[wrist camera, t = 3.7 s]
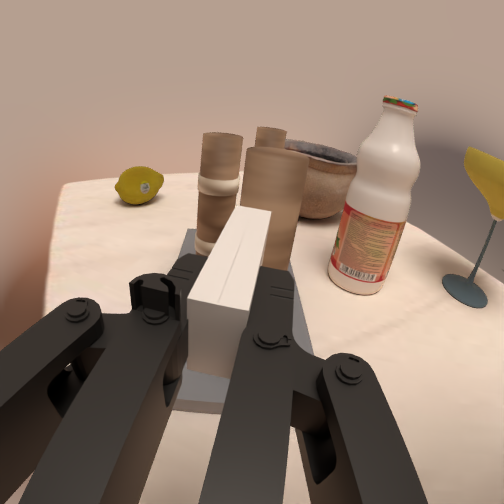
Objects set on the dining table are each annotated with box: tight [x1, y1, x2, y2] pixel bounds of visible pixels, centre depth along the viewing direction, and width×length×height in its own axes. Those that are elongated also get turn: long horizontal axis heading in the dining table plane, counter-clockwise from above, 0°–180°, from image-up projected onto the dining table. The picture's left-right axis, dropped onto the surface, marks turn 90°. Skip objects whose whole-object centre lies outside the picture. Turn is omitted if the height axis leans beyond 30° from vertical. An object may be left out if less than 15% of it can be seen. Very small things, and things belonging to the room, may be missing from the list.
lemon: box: [115, 166, 164, 204], centre depth 62 cm, size 11×8×8 cm
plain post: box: [240, 147, 309, 271], centre depth 23 cm, size 4×4×18 cm
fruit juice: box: [328, 96, 420, 295], centre depth 40 cm, size 9×9×28 cm
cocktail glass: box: [442, 147, 504, 308], centre depth 42 cm, size 18×18×25 cm
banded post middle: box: [195, 132, 243, 257], centre depth 34 cm, size 4×4×18 cm
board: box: [172, 229, 314, 414], centre depth 37 cm, size 16×32×5 cm, turn 2°
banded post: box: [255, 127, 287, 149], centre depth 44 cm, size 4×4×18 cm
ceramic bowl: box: [284, 139, 357, 219], centre depth 67 cm, size 22×22×15 cm
